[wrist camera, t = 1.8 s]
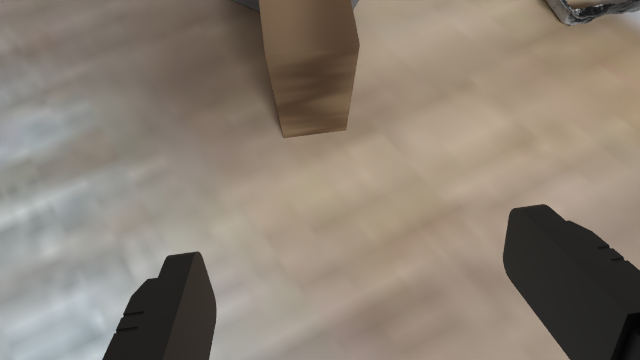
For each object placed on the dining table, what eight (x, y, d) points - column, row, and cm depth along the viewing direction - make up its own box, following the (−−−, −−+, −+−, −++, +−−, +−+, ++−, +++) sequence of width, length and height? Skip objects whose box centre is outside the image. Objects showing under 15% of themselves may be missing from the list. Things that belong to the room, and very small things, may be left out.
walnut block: (283, 138, 31) (265, 56, 20) (276, 82, 32) (256, -22, 22) (345, 130, 31) (359, 44, 20) (336, 75, 32) (345, -31, 22)
